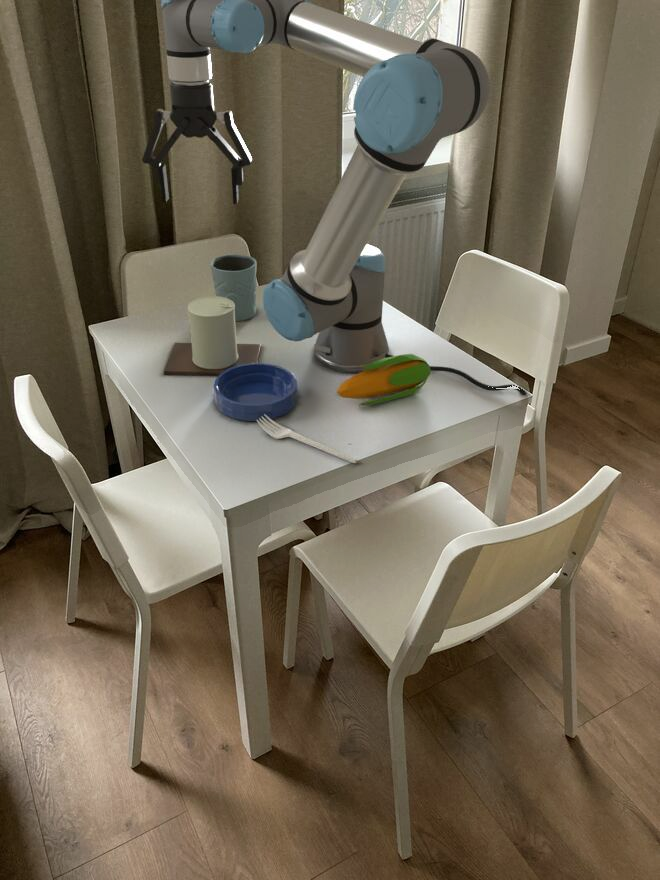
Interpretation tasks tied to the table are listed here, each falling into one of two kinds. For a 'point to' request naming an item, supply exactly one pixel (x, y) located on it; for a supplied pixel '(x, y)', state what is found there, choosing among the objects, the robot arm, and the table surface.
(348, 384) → the corn
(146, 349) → the table surface
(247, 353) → the board
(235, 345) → the can
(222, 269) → the blue cup
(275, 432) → the fork
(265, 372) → the bowl
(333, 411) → the table surface
